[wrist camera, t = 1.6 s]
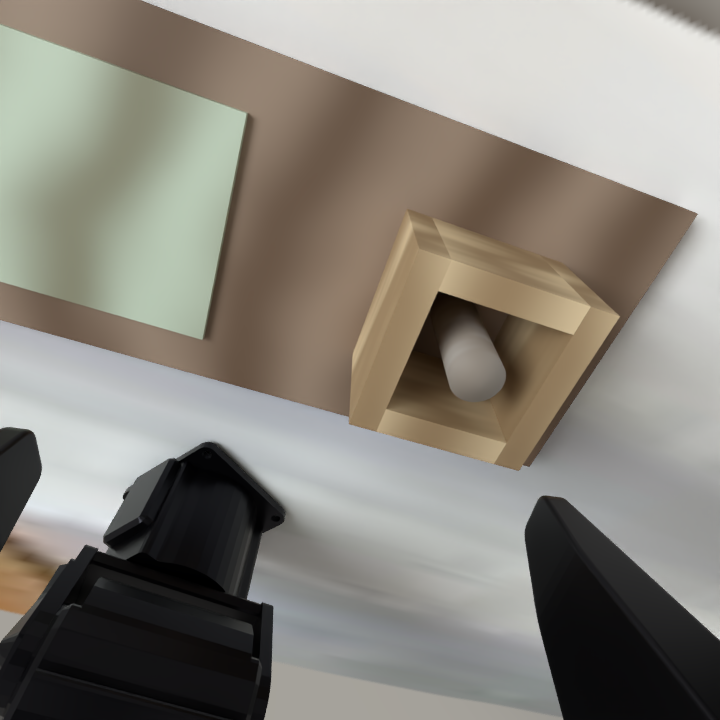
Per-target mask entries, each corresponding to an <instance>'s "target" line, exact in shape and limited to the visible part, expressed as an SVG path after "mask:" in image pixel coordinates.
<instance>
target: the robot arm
mask: <svg viewBox="0 0 720 720" xmlns="http://www.w3.org/2000/svg"><path fill="white" fill-rule="evenodd" d="M205 451H209V452H210V453H206V452H205ZM41 471H42V464H41V459H40V455H39V450H38V446H37V441H36V437H35V434H34V433H33V432H32V431H30V430H28V429H20V428H12V427H6V428H2V429H0V552H1V550H2V548H3V546H4V544H5V543H6V541H7V539H8V537H9V535H10V533H11V531H12V529H13V528H14V526H15V524H16V522H17V520H18V518H19V516H20V515H21V513H22V511H23V509H24V507H25V505H26V503H27V501H28V500H29V498H30V496H31V494H32V492H33V490H34V488H35V487H36V485H37V483H38V481H39V479H40V476H41ZM123 499H124V501H123V503H122V505H121V507H120V508H119V510H118V512H117V514H116V515H115V517H114V519H113V520H112V522H111V524H110V526H109V527H108V529H107V531H106V533H105V534H104V536H103V542H104V544H106V545H107V546H108V547H109V548H108V550H107V552H106V553H102V552H99V551H98V548H95V547H92V546H88V545H85V546H84V548H83V549H82V551H81V552H80V554H79V555H78V556H77V558H76V559H71V560H70V561H69V562H68V564H64V565H60V566H59V568H58V569H57V571H56V572H55V574H54V575H53V577H52V579H51V580H50V582H49V583H48V585H47V586H46V588H45V589H44V591H43V593H42V594H41V595H40V597H39V598H38V600H37V601H36V602H35V603H34V605H33V606H32V607H31V608H30V609H29V610H28V612H27V613H26V614H25V615H24V616H23V617H22V618H21V619H20V621H19V622H18V623H17V624H16V625H15V626H14V627H13V628H12V630H11V631H10V632H9V633H8V634H7V635H6V636H5V638H4V639H3V640H2V641H1V643H0V720H264V717H265V713H266V708H267V704H268V699H269V693H270V685H271V663H272V633H273V606H272V605H269V604H266V603H263V602H262V603H261V604H259V603H256V602H253V601H250V600H247V596H248V592H249V588H250V583H251V579H252V575H253V570H254V566H255V562H256V557H257V553H258V549H259V545H260V540H261V536H262V533H264V532H266V531H268V530H270V529H272V528H274V527H276V526H278V525H280V524H282V523H283V522H284V520H285V515H286V514H285V511H284V509H283V508H282V507H281V506H279V505H278V504H277V503H276V502H275V501H274V500H273V499H272V498H271V497H270V496H269V495H268V494H267V493H266V492H265V491H264V490H263V489H262V488H260V487H259V486H258V485H257V484H256V483H255V482H254V481H253V480H252V479H251V478H250V477H249V476H248V475H247V474H246V473H245V472H244V471H243V470H242V469H240V468H239V467H238V466H237V465H236V464H235V463H234V462H233V461H232V460H231V459H230V458H229V457H228V456H227V455H226V454H225V453H224V452H223V451H222V450H220V449H219V448H218V447H217V446H216V445H215V444H213V443H210V442H204V443H202V444H200V445H199V446H197V447H195V448H194V449H192V450H190V451H189V452H187V453H185V454H184V455H182V456H180V457H179V458H177V459H175V458H172V459H168V460H166V461H164V462H163V463H161V464H160V465H158V466H156V467H155V468H153V469H151V470H150V471H148V472H146V473H145V474H143V475H141V476H140V477H138V478H137V479H136V481H135V483H134V484H133V485H132V486H130V487H129V488H127V489H126V491H125V493H124V495H123ZM274 515H277V516H274ZM525 544H526V550H527V557H528V563H529V570H530V576H531V582H532V589H533V595H534V602H535V608H536V614H537V619H538V624H539V628H540V632H541V636H542V640H543V644H544V647H545V651H546V655H547V659H548V663H549V666H550V670H551V674H552V678H553V682H554V685H555V689H556V693H557V697H558V701H559V704H560V708H561V712H562V716H563V719H564V720H720V640H719V639H718V638H717V637H715V636H714V635H713V634H712V633H711V632H710V631H709V630H708V629H707V628H706V627H705V626H703V625H702V624H701V623H700V622H699V621H698V620H697V619H696V618H695V617H694V616H693V615H691V614H690V613H689V612H688V611H687V610H686V609H685V608H684V607H683V606H682V605H681V604H679V603H678V602H677V601H676V600H675V599H674V598H673V597H672V596H671V595H670V594H669V593H667V592H666V591H665V590H664V589H663V588H662V587H661V586H660V585H659V584H658V583H657V582H655V581H654V580H653V579H652V578H651V577H650V576H649V575H648V574H647V573H646V572H644V571H643V570H642V569H641V568H640V567H639V566H638V565H637V564H636V563H635V562H634V561H632V560H631V559H630V558H629V557H628V556H627V555H626V554H625V553H624V552H623V551H622V550H620V549H619V548H618V547H617V546H616V545H615V544H614V543H613V542H612V541H611V540H610V539H608V538H607V537H606V536H605V535H604V534H603V533H602V532H601V531H600V530H599V529H598V528H596V527H595V526H594V525H593V524H592V523H591V522H590V521H589V520H588V519H587V518H586V517H584V516H583V515H582V514H581V513H580V512H579V511H578V510H577V509H576V508H575V507H574V506H572V505H571V504H570V503H569V502H568V501H567V500H566V499H564V498H561V497H553V496H541V497H540V498H539V499H538V501H537V503H536V505H535V507H534V509H533V511H532V514H531V516H530V518H529V520H528V522H527V525H526V528H525Z"/></svg>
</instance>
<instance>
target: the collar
mask: <svg viewBox="0 0 720 720" xmlns="http://www.w3.org/2000/svg"><path fill="white" fill-rule="evenodd" d="M438 291H440V292H443V293H446V294H449V295H452V296H455V297H458V298H461V299H464V300H467V301H471V302H474V303H477V304H480V305H483V306H486V307H489V308H492V309H495V310H498V311H501V312H504V313H507V314H508V316H507V318H506V320H505V321H504V323H503V325H502V327H501V329H500V331H499V333H498V335H497V337H496V338H495V340H494V342H493V345H494V347H495V349H496V351H497V353H498V355H499V358H500V360H501V362H502V364H503V366H504V368H505V371H506V379H505V383H504V385H503V387H502V389H501V390H500V391H499V392H498V393H497V394H496V395H495V396H493V397H492V398H490V399H487V400H485V401H481V402H468V401H464V400H462V399H460V398H458V397H457V396H456V395H454V393H453V392H452V391H451V389H450V386H449V382H448V379H447V375H446V371H445V368H444V364H443V360H442V359H439V358H436V357H433V356H430V355H426V354H423V353H420V352H416V351H413V350H412V349H413V347H414V345H415V342H416V340H417V338H418V336H419V333H420V331H421V329H422V326H423V324H424V322H425V320H426V317H427V315H428V313H429V311H430V308H431V306H432V304H433V301H434V299H435V297H436V295H437V292H438ZM619 317H620V316H619V315H618V314H617V313H616V312H615V311H614V310H613V309H611V308H610V307H609V306H608V305H607V304H606V303H605V302H604V301H603V300H602V299H601V298H600V297H599V296H598V295H596V294H595V293H594V292H593V291H592V290H591V289H590V288H589V287H588V286H587V285H586V284H585V283H584V282H583V281H581V280H580V279H579V278H578V277H577V276H576V275H575V274H574V273H573V272H572V271H571V270H570V269H569V268H568V267H566V266H565V265H564V264H563V263H561V262H559V261H556V260H553V259H550V258H547V257H544V256H541V255H538V254H536V253H533V252H530V251H527V250H524V249H521V248H518V247H516V246H513V245H510V244H507V243H504V242H501V241H498V240H495V239H493V238H490V237H487V236H484V235H481V234H478V233H475V232H473V231H470V230H467V229H464V228H461V227H458V226H455V225H452V224H450V223H447V222H444V221H441V220H438V219H435V218H432V217H430V216H427V215H424V214H421V213H418V212H415V211H412V210H409V209H407V210H406V212H405V215H404V218H403V220H402V223H401V226H400V228H399V231H398V234H397V236H396V239H395V242H394V244H393V247H392V250H391V252H390V255H389V258H388V261H387V263H386V266H385V269H384V271H383V274H382V277H381V279H380V282H379V285H378V287H377V290H376V293H375V295H374V298H373V301H372V303H371V306H370V309H369V311H368V314H367V317H366V319H365V322H364V325H363V327H362V330H361V333H360V336H359V338H358V341H357V344H356V346H355V349H354V352H353V357H352V375H351V393H350V412H349V424H351V425H354V426H358V427H361V428H365V429H369V430H372V431H376V432H380V433H383V434H387V435H390V436H394V437H398V438H401V439H405V440H409V441H412V442H416V443H419V444H423V445H427V446H430V447H434V448H438V449H441V450H445V451H449V452H452V453H456V454H459V455H463V456H467V457H470V458H474V459H478V460H481V461H485V462H488V463H492V464H496V465H499V466H503V467H507V468H510V469H514V470H517V471H519V470H520V468H521V467H522V465H523V464H524V462H525V461H526V459H527V458H528V456H529V455H530V453H531V452H532V450H533V448H534V447H535V445H536V444H537V442H538V441H539V439H540V438H541V436H542V435H543V433H544V432H545V430H546V429H547V427H548V426H549V424H550V423H551V421H552V420H553V418H554V416H555V415H556V413H557V412H558V410H559V409H560V407H561V406H562V404H563V403H564V401H565V400H566V398H567V397H568V395H569V394H570V392H571V391H572V389H573V387H574V386H575V384H576V383H577V381H578V380H579V378H580V377H581V375H582V374H583V372H584V371H585V369H586V368H587V366H588V365H589V363H590V362H591V360H592V359H593V357H594V355H595V354H596V352H597V351H598V349H599V348H600V346H601V345H602V343H603V342H604V340H605V339H606V337H607V336H608V334H609V333H610V331H611V330H612V328H613V326H614V325H615V323H616V322H617V320H618V319H619Z"/></svg>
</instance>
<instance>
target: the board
mask: <svg viewBox="0 0 720 720" xmlns="http://www.w3.org/2000/svg"><path fill="white" fill-rule="evenodd" d="M407 209H409V210H412V211H415V212H418V213H421V214H424V215H427V216H430V217H432V218H435V219H438V220H441V221H444V222H447V223H450V224H452V225H455V226H458V227H461V228H464V229H467V230H470V231H473V232H475V233H478V234H481V235H484V236H487V237H490V238H493V239H495V240H498V241H501V242H504V243H507V244H510V245H513V246H516V247H518V248H521V249H524V250H527V251H530V252H533V253H536V254H538V255H541V256H544V257H547V258H550V259H553V260H556V261H559V262H561V263H563V264H564V265H565V266H566V267H568V268H569V269H570V270H571V271H572V272H573V273H574V274H575V275H576V276H577V277H578V278H579V279H580V280H581V281H583V282H584V283H585V284H586V285H587V286H588V287H589V288H590V289H591V290H592V291H593V292H594V293H595V294H596V295H598V296H599V297H600V298H601V299H602V300H603V301H604V302H605V303H606V304H607V305H608V306H609V307H610V308H611V309H613V310H614V311H615V312H616V313H617V314H618V315H619V316H620V317H619V319H618V320H617V322H616V323H615V325H614V326H613V328H612V330H611V331H610V333H609V334H608V336H607V337H606V339H605V340H604V342H603V343H602V345H601V346H600V348H599V349H598V351H597V352H596V354H595V355H594V357H593V359H592V360H591V362H590V363H589V365H588V366H587V368H586V369H585V371H584V372H583V374H582V375H581V377H580V378H579V380H578V381H577V383H576V384H575V386H574V387H573V389H572V391H571V392H570V394H569V395H568V397H567V398H566V400H565V401H564V403H563V404H562V406H561V407H560V409H559V410H558V412H557V413H556V415H555V416H554V418H553V420H552V421H551V423H550V424H549V426H548V427H547V429H546V430H545V432H544V433H543V435H542V436H541V438H540V439H539V441H538V442H537V444H536V445H535V447H534V448H533V450H532V452H531V453H530V455H529V456H528V458H527V459H526V461H525V462H524V464H523V465H524V466H528V467H530V465H531V464H532V462H533V461H534V459H535V458H536V456H537V455H538V453H539V452H540V450H541V449H542V447H543V446H544V444H545V443H546V441H547V440H548V438H549V437H550V435H551V434H552V432H553V431H554V429H555V428H556V426H557V425H558V423H559V422H560V420H561V419H562V417H563V416H564V414H565V413H566V411H567V410H568V408H569V407H570V405H571V404H572V402H573V401H574V399H575V398H576V396H577V395H578V393H579V392H580V390H581V389H582V387H583V386H584V384H585V383H586V381H587V380H588V378H589V377H590V375H591V374H592V372H593V371H594V369H595V368H596V366H597V365H598V363H599V362H600V360H601V359H602V357H603V356H604V354H605V353H606V351H607V350H608V348H609V347H610V345H611V344H612V342H613V341H614V339H615V338H616V336H617V335H618V333H619V332H620V330H621V329H622V327H623V326H624V324H625V323H626V321H627V319H628V318H629V316H630V315H631V313H632V312H633V310H634V309H635V307H636V306H637V304H638V303H639V301H640V300H641V298H642V297H643V295H644V294H645V292H646V291H647V289H648V288H649V286H650V285H651V283H652V282H653V280H654V279H655V277H656V276H657V274H658V273H659V271H660V270H661V268H662V267H663V265H664V264H665V262H666V261H667V259H668V258H669V256H670V255H671V253H672V252H673V250H674V249H675V247H676V246H677V244H678V243H679V241H680V240H681V238H682V237H683V235H684V234H685V232H686V231H687V229H688V228H689V226H690V225H691V223H692V222H693V220H694V219H695V217H696V216H697V213H695V212H692V211H690V210H687V209H685V208H682V207H680V206H677V205H674V204H672V203H669V202H667V201H664V200H661V199H659V198H656V197H654V196H651V195H648V194H646V193H643V192H640V191H638V190H635V189H633V188H630V187H627V186H625V185H622V184H620V183H617V182H614V181H612V180H609V179H606V178H604V177H601V176H599V175H596V174H593V173H591V172H588V171H586V170H583V169H580V168H578V167H575V166H572V165H570V164H567V163H565V162H562V161H559V160H557V159H554V158H552V157H549V156H546V155H544V154H541V153H539V152H536V151H533V150H531V149H528V148H525V147H523V146H520V145H518V144H515V143H512V142H510V141H507V140H505V139H502V138H499V137H497V136H494V135H491V134H489V133H486V132H484V131H481V130H478V129H476V128H473V127H471V126H468V125H465V124H463V123H460V122H457V121H455V120H452V119H450V118H447V117H444V116H442V115H439V114H437V113H434V112H431V111H429V110H426V109H424V108H421V107H418V106H416V105H413V104H410V103H408V102H405V101H403V100H400V99H397V98H395V97H392V96H390V95H387V94H384V93H382V92H379V91H376V90H374V89H371V88H369V87H366V86H363V85H361V84H358V83H356V82H353V81H350V80H348V79H345V78H342V77H340V76H337V75H335V74H332V73H329V72H327V71H324V70H322V69H319V68H316V67H314V66H311V65H309V64H306V63H303V62H301V61H298V60H295V59H293V58H290V57H288V56H285V55H282V54H280V53H277V52H275V51H272V50H269V49H267V48H264V47H261V46H259V45H256V44H254V43H251V42H248V41H246V40H243V39H241V38H238V37H235V36H233V35H230V34H227V33H225V32H222V31H220V30H217V29H214V28H212V27H209V26H207V25H204V24H201V23H199V22H196V21H194V20H191V19H188V18H186V17H183V16H180V15H178V14H175V13H173V12H170V11H167V10H165V9H162V8H160V7H157V6H154V5H152V4H149V3H146V2H144V1H141V0H0V320H2V321H6V322H10V323H13V324H17V325H20V326H24V327H28V328H31V329H35V330H38V331H42V332H46V333H49V334H53V335H56V336H60V337H64V338H67V339H71V340H74V341H78V342H82V343H85V344H89V345H92V346H96V347H100V348H103V349H107V350H110V351H114V352H118V353H121V354H125V355H128V356H132V357H136V358H139V359H143V360H146V361H150V362H154V363H157V364H161V365H164V366H168V367H172V368H175V369H179V370H182V371H186V372H190V373H193V374H197V375H200V376H204V377H208V378H211V379H215V380H218V381H222V382H226V383H229V384H233V385H236V386H240V387H244V388H247V389H251V390H254V391H258V392H262V393H265V394H269V395H272V396H276V397H280V398H283V399H287V400H290V401H294V402H298V403H301V404H305V405H308V406H312V407H316V408H319V409H323V410H326V411H330V412H334V413H337V414H341V415H344V416H348V417H349V412H350V393H351V375H352V357H353V352H354V349H355V346H356V344H357V341H358V338H359V336H360V333H361V330H362V327H363V325H364V322H365V319H366V317H367V314H368V311H369V309H370V306H371V303H372V301H373V298H374V295H375V293H376V290H377V287H378V285H379V282H380V279H381V277H382V274H383V271H384V269H385V266H386V263H387V261H388V258H389V255H390V252H391V250H392V247H393V244H394V242H395V239H396V236H397V234H398V231H399V228H400V226H401V223H402V220H403V218H404V215H405V212H406V210H407ZM507 316H508V314H507V313H504V312H501V311H498V310H495V309H492V308H489V307H486V306H483V305H480V304H477V303H474V302H471V301H467V300H464V299H461V298H458V297H455V296H452V295H449V294H446V293H443V292H440V291H438V292H437V295H436V297H435V299H434V301H433V304H432V306H431V308H430V311H429V313H428V315H427V317H426V320H425V322H424V324H423V326H422V329H421V331H420V333H419V336H418V338H417V340H416V342H415V345H414V347H413V349H412V350H413V351H416V352H420V353H423V354H426V355H430V356H433V357H436V358H439V359H442V360H443V364H444V368H445V371H446V375H447V379H448V382H449V386H450V389H451V391H452V392H453V393H454V395H456V396H457V397H458V398H460V399H462V400H464V401H468V402H481V401H485V400H487V399H490V398H492V397H493V396H495V395H496V394H497V393H498V392H499V391H500V390H501V389H502V387H503V385H504V383H505V379H506V371H505V368H504V366H503V364H502V362H501V360H500V358H499V355H498V353H497V351H496V349H495V347H494V345H493V342H494V340H495V338H496V337H497V335H498V333H499V331H500V329H501V327H502V325H503V323H504V321H505V320H506V318H507Z"/></svg>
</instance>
